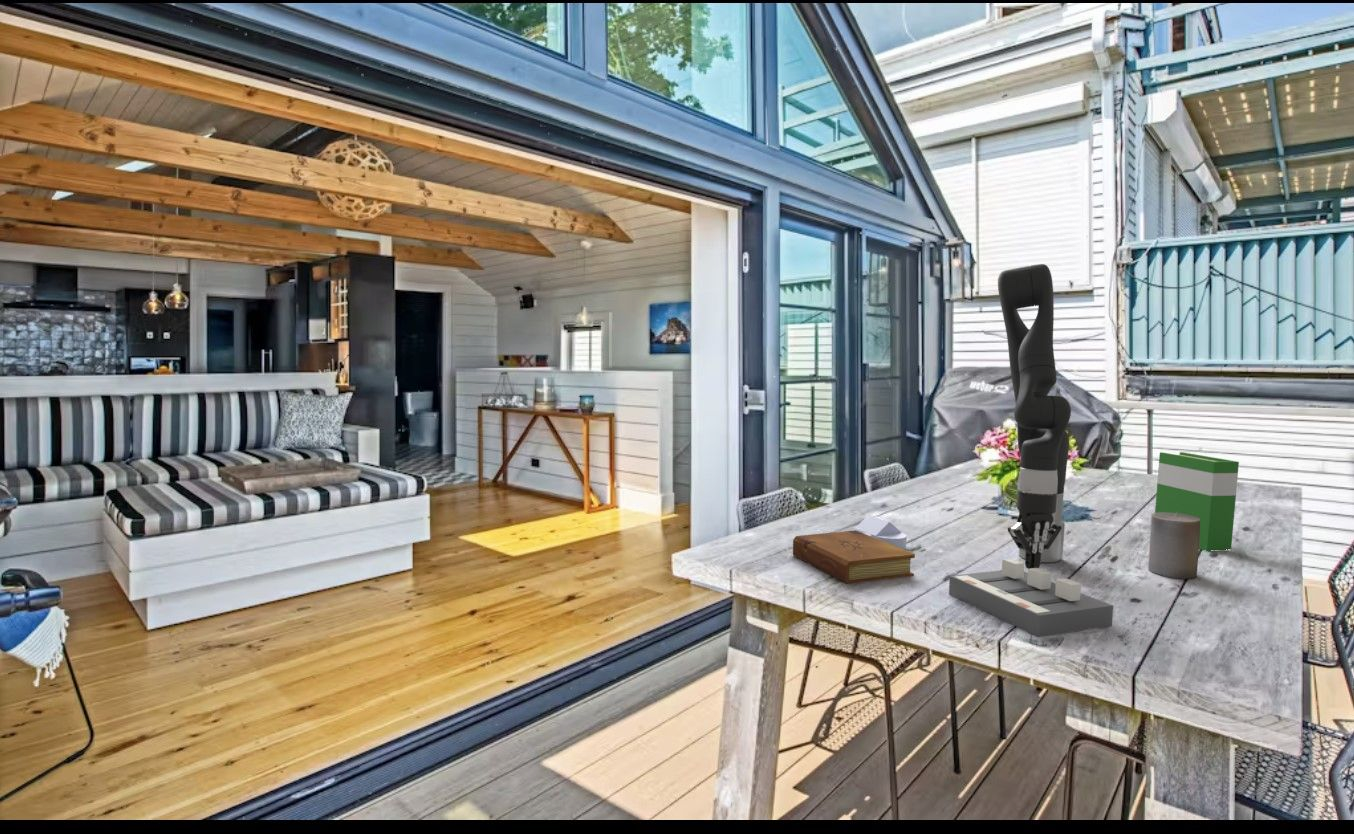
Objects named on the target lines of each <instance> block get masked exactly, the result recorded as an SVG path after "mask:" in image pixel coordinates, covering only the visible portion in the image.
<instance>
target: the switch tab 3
mask: <svg viewBox="0 0 1354 834" xmlns="http://www.w3.org/2000/svg"><path fill="white" fill-rule="evenodd" d="M1055 583H1056V589H1055V595H1056V596H1058V597H1061V598H1063V599H1066V600H1068V601H1077V600H1080V594H1081V593H1082V592H1081V591H1082V583H1080V582H1076V581H1074V580H1072V579H1068V578H1067V577H1065V578H1056V579H1055Z"/></svg>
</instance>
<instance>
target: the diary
mask: <svg viewBox="0 0 1354 834" xmlns="http://www.w3.org/2000/svg"><path fill="white" fill-rule="evenodd" d="M792 555H793V556H794V557H795V556H796V557H795V558H797V559H799V560H801V561H803V562H804V563H807V564H808V563H809V564H808V565H810V564H811V566H812V567H815V568H816V569H818V570H820V571H822V572H824V573H825V572H826V574H827V573H828V574H827V575H829V574H830V576H831V577H833V578H835V579H837V580H838V581H840V582H843V583H844V584H846V585H849V584H850V585H851V584H858V583H865V582H866V583H867V582H876V581H883V580H889V579H891V580H892V579H899V578H905V577H906V578H907V577H913V576H915V573H914V572H911V560H912V559H915V557H916V553H913V552H912V551H911V552H910V551H908V550H906V549H905V550H904V549H901V548H899V547H896V546H894V545H891V544H889V543H886V542H884V541H881V540H879V539H876V538H874V537H871V535H870V534H867V533H866V534H865V532H862V531H861V532H860V530H857V529H855V530H848V531H847V530H846V531H836V532H823V533H815V534H805V535H803V534H801V535H796V536H794V538H793V539H792Z"/></svg>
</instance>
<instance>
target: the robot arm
mask: <svg viewBox="0 0 1354 834" xmlns="http://www.w3.org/2000/svg"><path fill="white" fill-rule="evenodd" d="M1052 277H1053V276H1052V273H1051V269H1050V268H1049V266H1048V265H1047V264H1045V263H1041V264H1040V263H1039V264H1031V265H1028V266H1027V265H1026V266H1021V267H1016V268H1015V267H1014V268H1010V269H1006V270H1003V271H1000V273H999V274H998V278H997V289H998V296H999V302H1000V307H1001V312H1002V317H1003V320H1004V327H1005V334H1006V340H1007V348H1008V358H1009V361H1008V362H1009V369H1010V376H1011V377H1010V378H1011V382H1012V383H1011V384H1012V388H1013V393H1014V400H1015V407H1014V412H1013V415H1014V420H1015V422H1016V427H1017V428H1016V429H1017V430H1016V431H1017V446H1018V449H1017V450H1018V454H1019V456H1020V467H1019V472H1018V473H1019V474H1018V478H1017V479H1018V480H1017V494H1016V498H1017V499H1016V509H1017V510H1018V516H1017V519H1016V523H1015V524H1014V525H1013V526H1008V528H1007V532H1008V534H1009V536H1010V537H1011V538H1012V540H1013V541H1014V543H1015V545H1016V546H1017V548H1018V556H1019V557H1020V558H1023V559H1024V567H1025V568H1027V570H1028V569H1031V568H1039V569H1040V567H1041V563H1056V562H1059V561H1060V560H1063V559H1064V558H1063V557H1064V556H1063V555H1064V541H1065V540H1064V538H1065V526H1066V525H1065V524H1066V523H1065V521H1063V510H1064V509H1063V508H1064V493H1065V482H1066V477H1067V467H1068V458H1069V452H1070V451H1069V450H1070V437H1069V434H1068V431H1067V428H1068V427H1067V426H1068V425H1069V422H1070V420H1071V416H1072V414H1071V413H1072V409H1071V405H1070V403H1069V401H1068V399H1067V398H1065V397H1064V396H1061V395H1049V393H1050V391H1051V390H1052V388H1053V387H1054V386H1055V385H1056V384H1057V379H1058V378H1057V368H1056V363H1055V362H1056V361H1055V353H1054V319H1055V316H1054V315H1055V314H1054V313H1055V312H1054V309H1055V308H1054V307H1055V306H1054V301H1055V300H1054V286H1053V285H1054V284H1053V283H1054V282H1053V278H1052ZM1030 307H1038V308H1037V314H1036V316H1035V319H1034V321H1033V324H1032V325H1031V327H1030V328H1028V326H1027V325H1026V324H1025V323H1024V321H1023V320H1022V318H1021V316H1020V313H1019V312H1018V311H1019V309H1024V308H1030Z"/></svg>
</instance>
